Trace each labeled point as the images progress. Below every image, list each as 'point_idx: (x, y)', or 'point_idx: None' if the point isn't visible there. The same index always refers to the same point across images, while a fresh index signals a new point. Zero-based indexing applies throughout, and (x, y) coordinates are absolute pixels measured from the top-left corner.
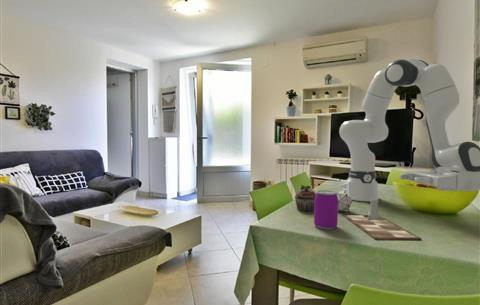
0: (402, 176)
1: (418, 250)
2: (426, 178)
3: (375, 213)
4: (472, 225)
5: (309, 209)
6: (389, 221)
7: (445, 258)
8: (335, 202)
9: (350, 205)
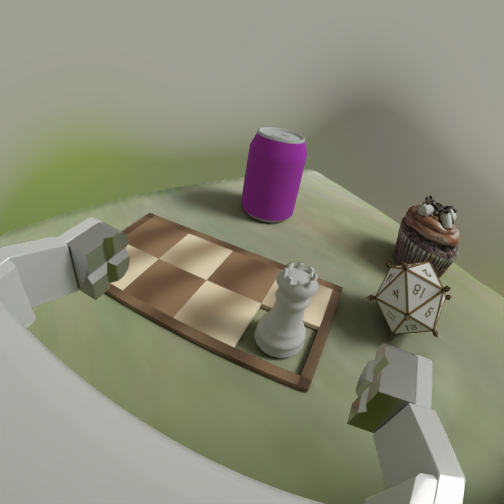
0: (374, 359)
1: (68, 224)
2: (18, 248)
3: (268, 313)
4: None
5: (395, 251)
6: (213, 343)
7: (29, 226)
8: (250, 150)
9: (398, 324)
